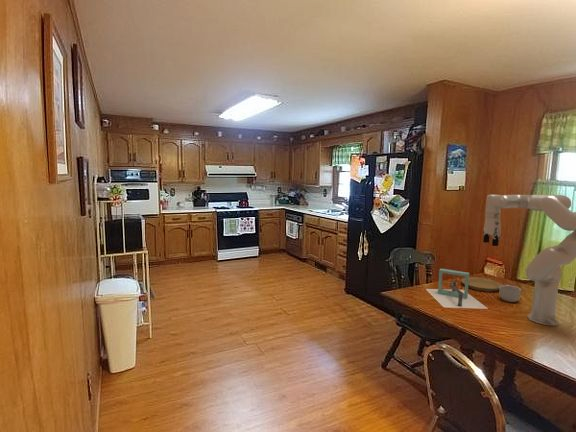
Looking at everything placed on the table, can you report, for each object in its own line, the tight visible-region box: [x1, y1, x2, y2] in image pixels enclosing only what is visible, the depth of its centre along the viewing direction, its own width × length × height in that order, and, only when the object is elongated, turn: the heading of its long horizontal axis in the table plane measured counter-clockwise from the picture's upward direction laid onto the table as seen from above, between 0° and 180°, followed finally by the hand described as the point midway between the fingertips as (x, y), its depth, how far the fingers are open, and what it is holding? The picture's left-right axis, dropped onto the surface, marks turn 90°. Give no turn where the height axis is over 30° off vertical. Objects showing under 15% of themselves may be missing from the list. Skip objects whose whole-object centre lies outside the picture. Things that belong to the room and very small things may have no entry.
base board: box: [425, 288, 489, 310], centre depth 197 cm, size 30×24×2 cm
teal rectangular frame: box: [437, 268, 470, 299], centre depth 201 cm, size 6×16×15 cm, turn 56°
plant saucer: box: [460, 276, 503, 293], centre depth 222 cm, size 24×24×3 cm
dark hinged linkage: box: [449, 279, 463, 307], centre depth 196 cm, size 25×5×8 cm, turn 161°
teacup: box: [498, 284, 522, 303], centre depth 198 cm, size 14×11×8 cm
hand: (490, 244), depth 195 cm, fingers open, 9 cm apart
